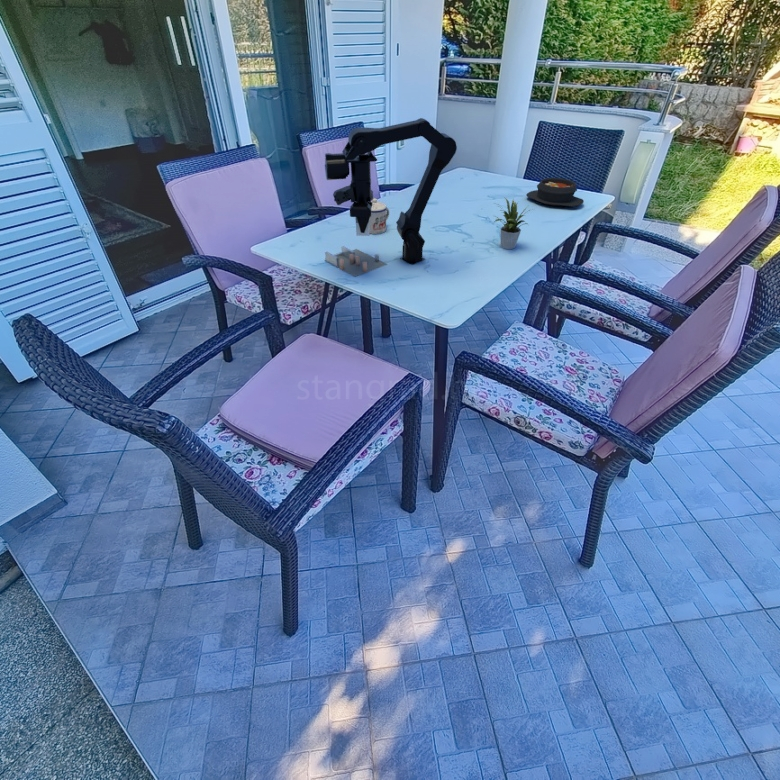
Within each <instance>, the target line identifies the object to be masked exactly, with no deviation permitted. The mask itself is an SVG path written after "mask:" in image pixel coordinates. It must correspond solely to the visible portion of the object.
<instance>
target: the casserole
mask: <svg viewBox="0 0 780 780" xmlns="http://www.w3.org/2000/svg"><path fill="white" fill-rule="evenodd" d="M536 188H537V189H536V190H531V191H529V192H528V193H526V197H527V198H529V199H532V200H534V201H537V202H538V203H541V204H543V205H545V206H549V207H563V206H564V207H579V206H581V205H582V204H584V200H583V198H581V197H577V196H575V193H576V192H577V191H578V188H577V183H576V182H575V181H573V180H570V179H566V178H561V177H560V178H559V177H548V178H547V177H546V178H543V179H541V180H540V181H539V183H538V184H537V185H536Z"/></svg>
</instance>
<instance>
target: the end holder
mask: <svg viewBox="0 0 780 780" xmlns="http://www.w3.org/2000/svg"><path fill="white" fill-rule="evenodd" d="M352 250H353V249H350V248H348V247H345V245H342V246H341V251H340V252H338V253H335V254H333V253H330V252H328V251H325V252H324V256H325V258H324V261H325V260H326V261H327V263H328V262H329V263H328V264H330V263H331V264H330V265H332V264H333V265H332V266H334V265H335V266H334V267H336V266H337V267H338V266H339V259H338V257H340V256H345V257H347V258H349V255H350V254H353V255H354V256H355V252H354V251H352ZM349 259H350V258H349ZM326 261H325V262H326ZM337 267H336V268H337Z"/></svg>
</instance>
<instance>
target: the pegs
mask: <svg viewBox="0 0 780 780" xmlns="http://www.w3.org/2000/svg"><path fill="white" fill-rule="evenodd" d="M349 258H350V264H354V263H356V266H360V256H354V255H353V254H350V255H349ZM374 258H375V262H379V260H380V254H374ZM339 261H340V269H339V270H341V271H343V270H344V260H343V259H340V260H339ZM363 272H367V262H363ZM367 273H368V272H367Z"/></svg>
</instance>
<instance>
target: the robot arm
mask: <svg viewBox="0 0 780 780" xmlns="http://www.w3.org/2000/svg"><path fill="white" fill-rule="evenodd" d="M419 137H423V138H424V139H425V140H426V141H427V142H428V143H429V144H430V147H429V152H428V161H427V162H428V163H427V166H426V168H425V171H424V172H423V175H422V178H421V180H420V181H419V182H420V183H419V185H418V187H417V189H416V191H415V194H414V196H413V198H412V201H411V203H410V206H409V208H408V209H407V210H406V211H405V212H404V211H400V214H399V217H398V218H397V221H396V225H397V226H396V231H397V232H398V234H399V236H400V238H401V239H402V240H403V242H402V243H403V244H402V256H401V257H400V258H399V260H400V261H403V262H405V263H407V264H410V265H411V266H412V265H415V264H418V263H421V262H423V261H425V260H426V258H424V257H423V248H424V245H425V243H426V240H425V238H424V237H422V235H421V233H420V230H421V225H422V216H423V214H424V212H425V209H426V207H427V205H428V202H429V201H430V198H431V196H432V194H433V191H434V188H435V186H436V184H437V183H438V180H439V178H440V175H441V173H442V172H443V170H444V169H445V168H446V167H448V165H449V164H450V162H451V161H452V160H453V157H454V156H455V155H456V152H457V150H458V146H457V142H456V141H455V139H454V138H453V137H451V136H450V135H448V134H447V133H444V132H441V131H439V130H437V129H436V128H435V127H434V126H433V125H432V124H431V123H430V121H428V120H427V119H425V118H424V117H420V118H418V119H414V120H410V121H407V122H402V123H398V124H397V123H396V124H392V125H388V126H383V127H354V128H353V129H351V130H350V132H349V134H348V137H347V138H348V140H347V143H346V144H345V146H344V147H343V150H342V152H341V153H325V154H324V157H325V158H324V171H325V178H326V181H333V180H334V181H335V180H346V179H347V177H349V176H350V177H351V179H350V184H349V185H346V186H343V187H342V188H339V189H336V190H334V191H333V193H332V196H333V198H334V199H333V200H334V202H335V203H336V205H337V206H340V205H342V204H344V203H346V202H351V205H350V206H349V217H351V218H355V219H356V218H357V220H358V224H359V227H360V231H361V233H364V232H365V230H366V227H367V224H368V221H369V219H370V217H371V212H372V211H371V208H372V202H371V201H372V200H373V199H374V191H373V190H372V178H371V163H372V162H377V161H378V159H377V157H376V156H375V155H374V154H373V151H375V150H377V149H378V148H379V147H382V146H385V145H387V144H392V143H397V142H401V141H406V140H411V139H414V138H419ZM350 173H351V174H350Z"/></svg>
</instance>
